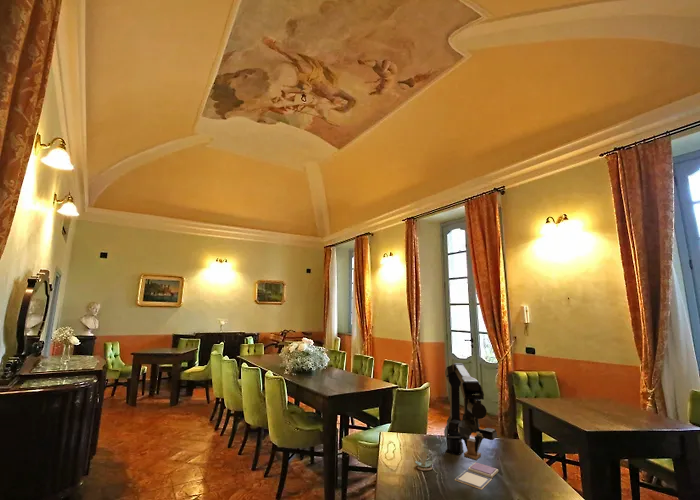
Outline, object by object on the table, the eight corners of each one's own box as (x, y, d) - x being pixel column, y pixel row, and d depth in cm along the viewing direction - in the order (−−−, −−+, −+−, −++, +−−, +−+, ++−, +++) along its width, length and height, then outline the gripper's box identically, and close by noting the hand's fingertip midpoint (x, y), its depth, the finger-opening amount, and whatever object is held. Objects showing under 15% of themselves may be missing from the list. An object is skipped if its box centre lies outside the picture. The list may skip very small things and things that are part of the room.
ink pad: (468, 470, 151) (468, 467, 152) (475, 464, 157) (475, 461, 158) (491, 478, 145) (491, 474, 145) (498, 471, 151) (498, 468, 151)
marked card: (454, 480, 142) (454, 478, 142) (465, 471, 151) (465, 469, 151) (481, 489, 135) (481, 488, 135) (491, 479, 144) (491, 478, 144)
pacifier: (434, 471, 150) (430, 464, 156) (434, 455, 151) (430, 449, 157) (418, 472, 149) (414, 465, 155) (418, 456, 150) (414, 450, 156)
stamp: (464, 457, 144) (463, 440, 145) (469, 453, 148) (468, 436, 149) (476, 460, 141) (475, 443, 142) (480, 457, 145) (480, 440, 146)
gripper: (441, 410, 147) (442, 450, 145) (486, 420, 135) (488, 465, 133) (453, 405, 156) (454, 443, 153) (496, 414, 143) (498, 456, 141)
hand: (472, 451), depth 145 cm, fingers closed on stamp, 3 cm apart
